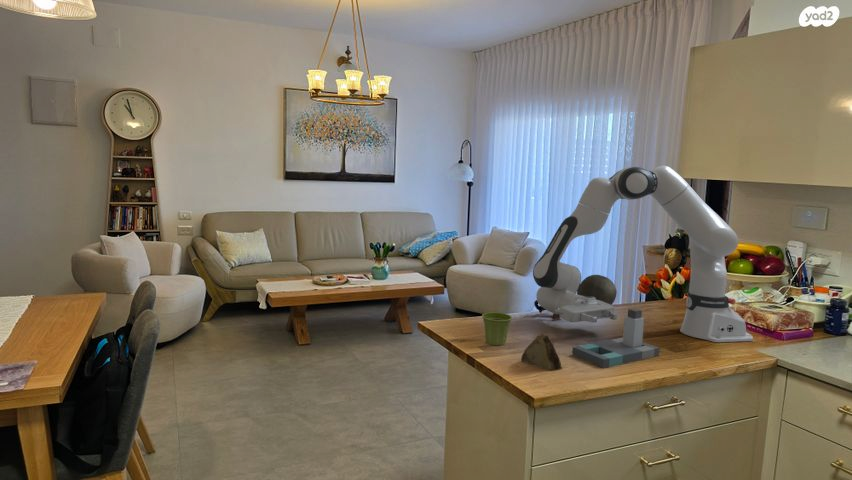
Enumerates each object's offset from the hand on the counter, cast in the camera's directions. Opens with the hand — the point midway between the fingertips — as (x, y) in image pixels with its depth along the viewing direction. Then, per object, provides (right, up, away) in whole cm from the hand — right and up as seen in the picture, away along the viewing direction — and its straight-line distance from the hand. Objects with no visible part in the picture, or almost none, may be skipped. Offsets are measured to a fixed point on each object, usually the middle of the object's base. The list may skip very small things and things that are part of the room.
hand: (605, 318), depth 181 cm
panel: (-1, -9, -11) cm, 15 cm away
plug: (+5, -9, -8) cm, 13 cm away
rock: (-25, -10, -22) cm, 35 cm away
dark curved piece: (-12, -3, +30) cm, 33 cm away
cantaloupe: (+8, -3, +38) cm, 38 cm away
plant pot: (-36, -7, -3) cm, 37 cm away
